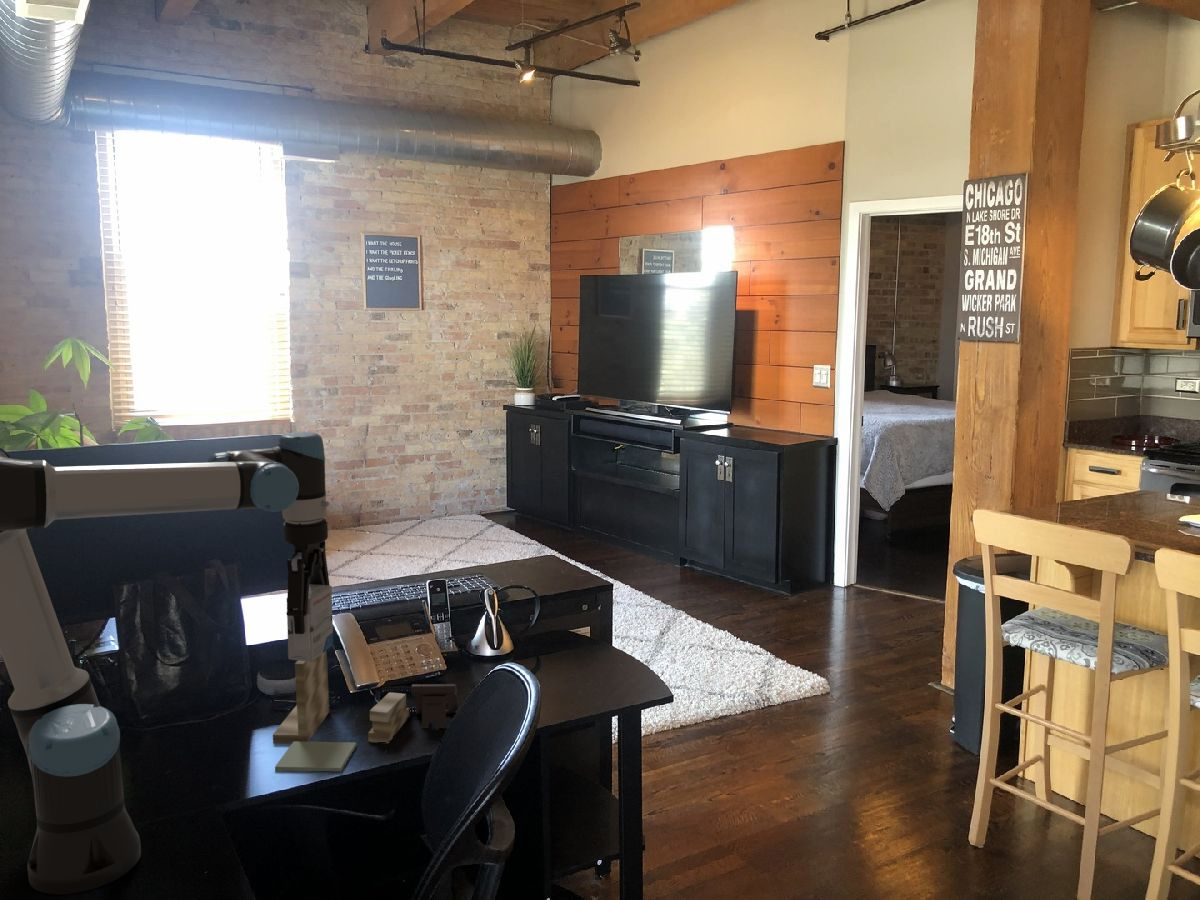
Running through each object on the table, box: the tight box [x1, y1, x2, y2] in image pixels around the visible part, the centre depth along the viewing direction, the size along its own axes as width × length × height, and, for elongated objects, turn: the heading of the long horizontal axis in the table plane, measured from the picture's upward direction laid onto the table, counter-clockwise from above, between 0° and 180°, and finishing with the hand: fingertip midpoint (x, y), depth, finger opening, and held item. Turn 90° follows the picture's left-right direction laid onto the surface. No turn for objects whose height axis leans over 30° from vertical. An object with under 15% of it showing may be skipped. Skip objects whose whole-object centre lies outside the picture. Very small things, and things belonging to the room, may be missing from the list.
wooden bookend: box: [272, 650, 330, 744], centre depth 194 cm, size 14×7×16 cm, turn 178°
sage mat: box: [274, 741, 357, 773], centre depth 182 cm, size 10×12×1 cm
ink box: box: [286, 584, 334, 662], centre depth 178 cm, size 9×5×12 cm, turn 168°
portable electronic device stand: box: [410, 683, 460, 729], centre depth 198 cm, size 9×8×8 cm
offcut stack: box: [367, 692, 410, 744], centre depth 194 cm, size 12×4×6 cm, turn 172°
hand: (311, 639), depth 178 cm, fingers closed on ink box, 9 cm apart
